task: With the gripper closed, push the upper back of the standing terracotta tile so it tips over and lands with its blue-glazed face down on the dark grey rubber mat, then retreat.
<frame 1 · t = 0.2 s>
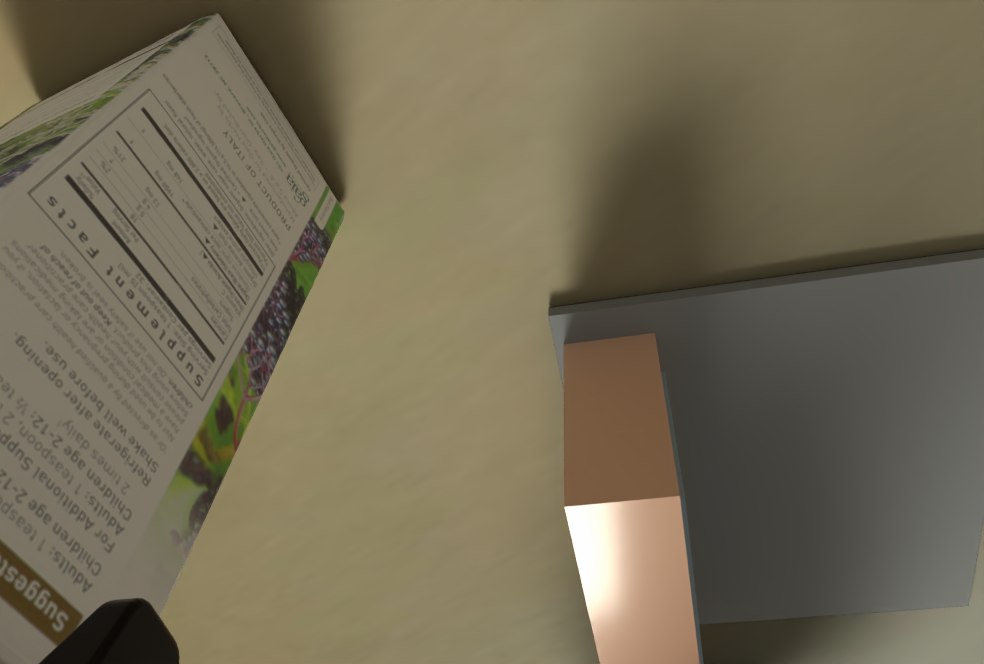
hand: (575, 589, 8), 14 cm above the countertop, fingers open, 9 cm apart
syrup box: (196, 151, 22), on the countertop
tile: (633, 491, 27), resting on mat
mat: (779, 467, 27), on the countertop
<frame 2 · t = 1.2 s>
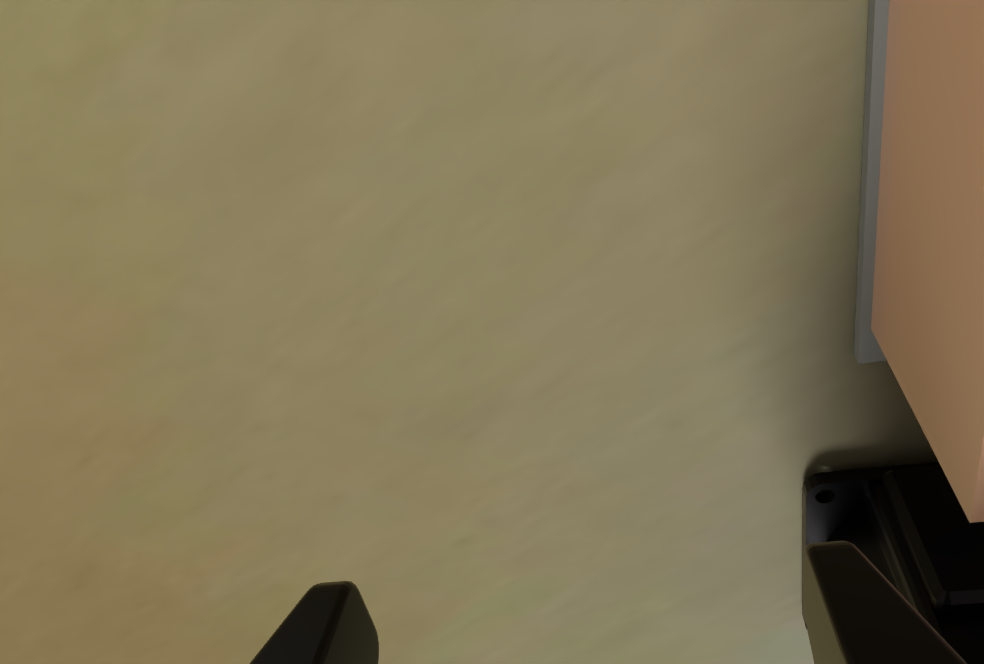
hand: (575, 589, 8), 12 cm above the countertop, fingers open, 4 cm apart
tile: (952, 69, 17), resting on mat
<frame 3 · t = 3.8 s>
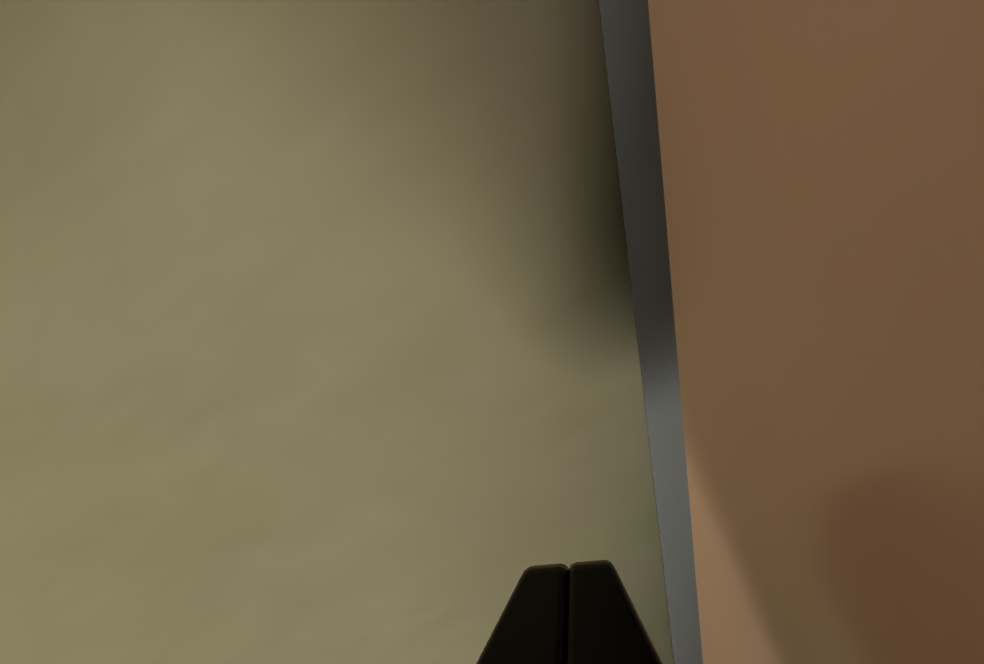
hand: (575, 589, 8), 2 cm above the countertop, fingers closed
tile: (802, 472, 9), point 1 cm above the countertop, tilted 15°, touching mat
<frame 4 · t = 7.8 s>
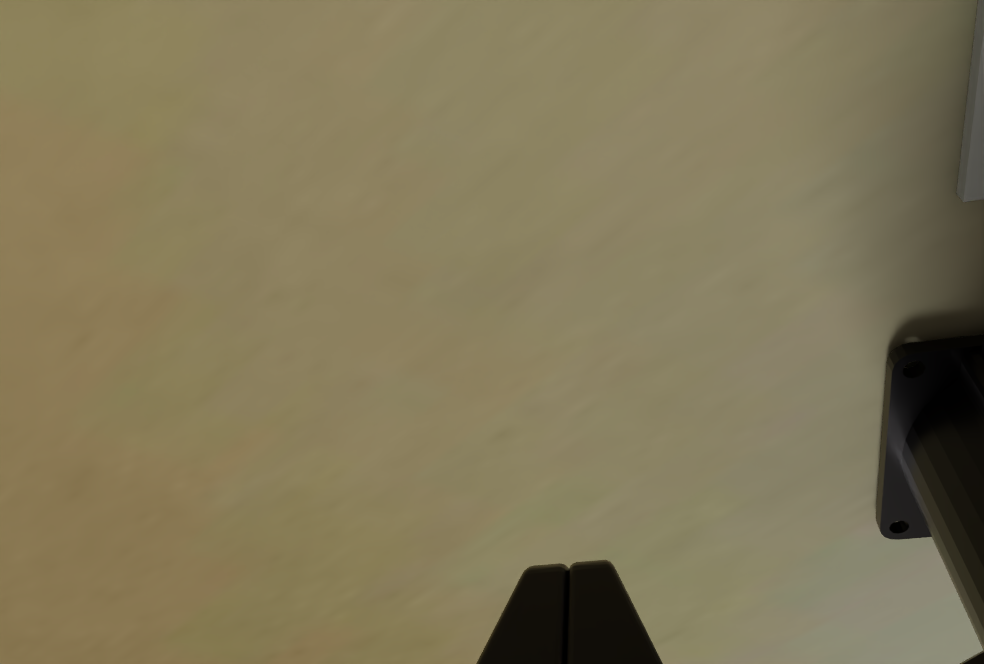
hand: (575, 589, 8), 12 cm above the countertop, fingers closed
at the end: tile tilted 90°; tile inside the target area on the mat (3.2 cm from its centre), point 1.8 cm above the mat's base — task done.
